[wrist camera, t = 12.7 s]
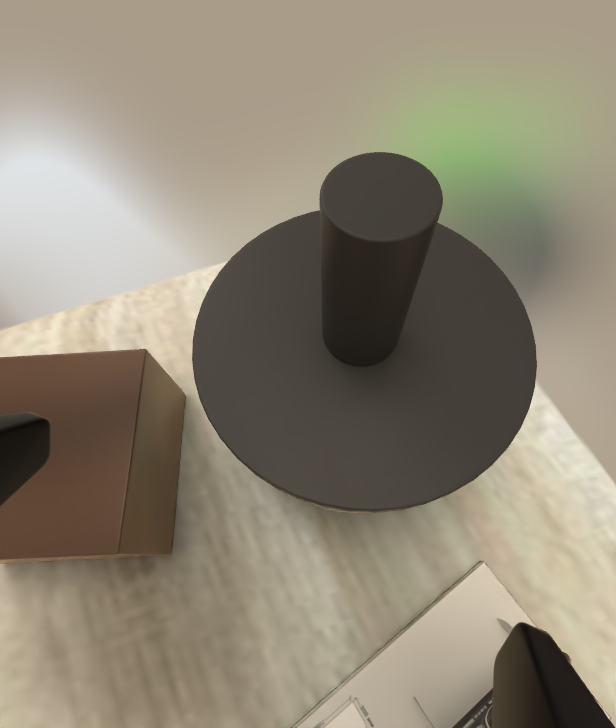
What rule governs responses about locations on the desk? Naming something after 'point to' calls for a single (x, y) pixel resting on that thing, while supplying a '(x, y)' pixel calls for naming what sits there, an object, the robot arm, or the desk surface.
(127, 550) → the block
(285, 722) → the desk surface
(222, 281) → the lid
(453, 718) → the white gadget package
